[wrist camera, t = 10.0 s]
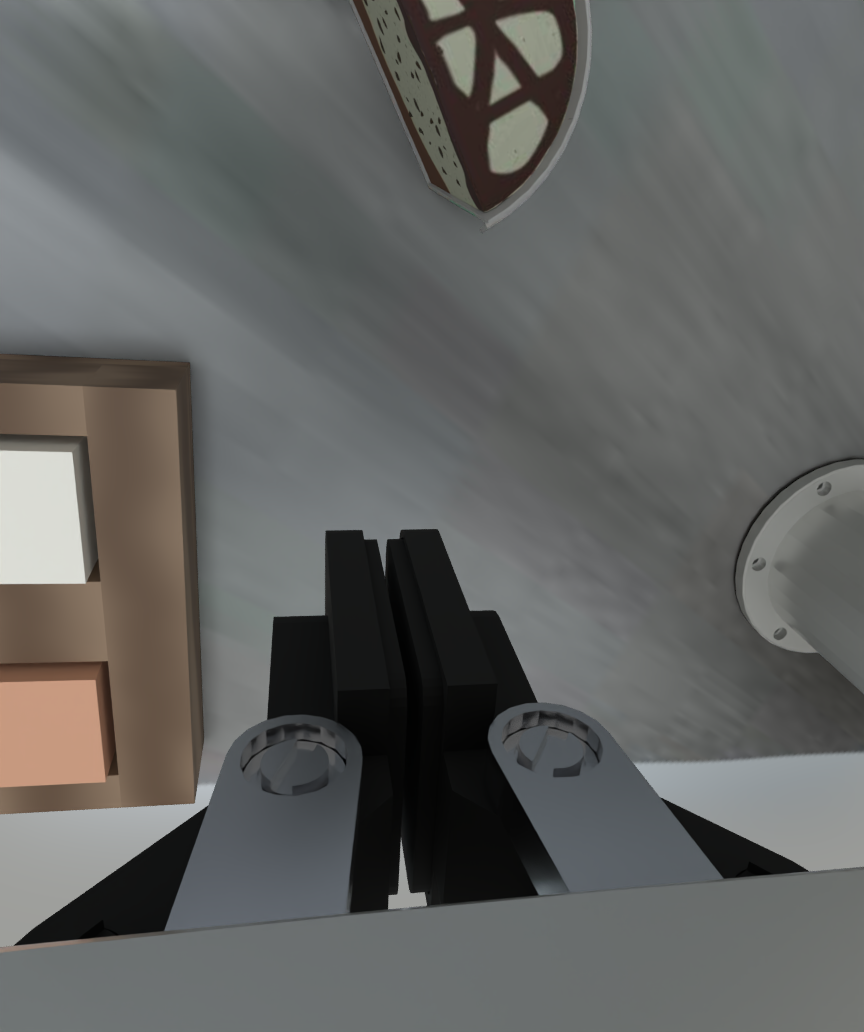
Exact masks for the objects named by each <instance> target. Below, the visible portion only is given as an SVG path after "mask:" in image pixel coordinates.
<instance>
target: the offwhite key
mask: <svg viewBox="0 0 864 1032" xmlns="http://www.w3.org/2000/svg"><path fill="white" fill-rule="evenodd" d="M97 559H98V548H97V537H96V527H95V516H94V505H93V494H92V484H91V473H90V462H89V451H88V441H87V436H60V435H25V434H0V584H86V582H87V580H88V578H89V576H90V574H91V572H92V569H93V567H94V565H95V563H96V561H97Z"/></svg>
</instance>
